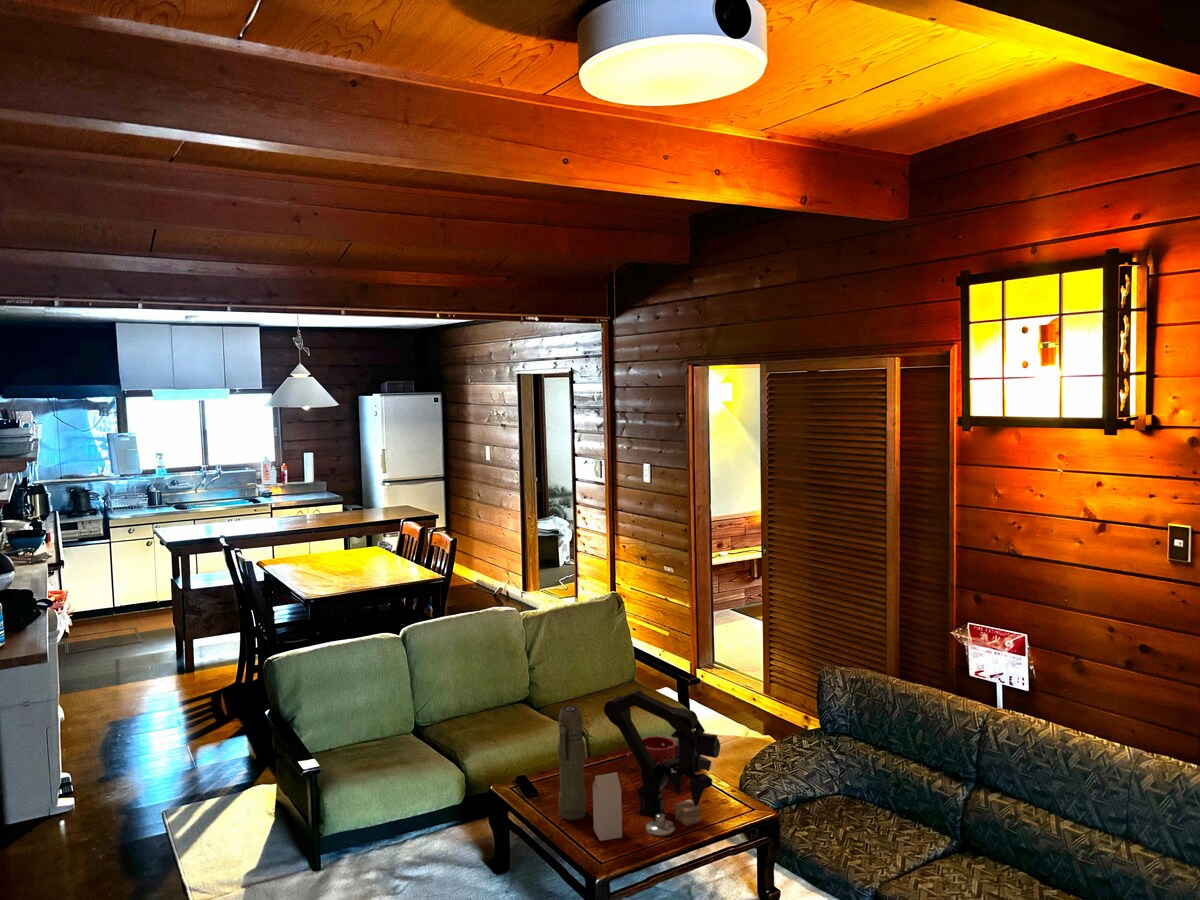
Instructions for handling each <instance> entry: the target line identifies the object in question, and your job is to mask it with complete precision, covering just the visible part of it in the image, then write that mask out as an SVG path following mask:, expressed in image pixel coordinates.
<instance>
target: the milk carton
mask: <svg viewBox="0 0 1200 900" xmlns="http://www.w3.org/2000/svg"><path fill="white" fill-rule="evenodd" d="M592 813H593V816H592V817H593V818H592V820H593V831H594V834H595V835H596V836H597V838H598V840H599V841H600V842H602V841H609V840H614V839H621V838H623V819H622V818H623V812H622V788H621V783H620V780H619V774H618V772H612V773H606V774H597V775H595V779H594V781H593V783H592Z"/></svg>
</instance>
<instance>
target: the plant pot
mask: <svg viewBox="0 0 1200 900" xmlns="http://www.w3.org/2000/svg"><path fill="white" fill-rule="evenodd" d="M641 739H642V741H643V743H644V744H645V746H646V748H647V750H648V752H649V754H650V755H651V757H652V759H653V760H654V761H655V762H656V763H660V762H662V764H663V763H664V762H665V761H667V760H671V759H674V758H675V754H677V743H676V741H675V740H674V739H672V738H669V737H665V736H659V735H658V736H657V735H656V736H646V737H644V738H641ZM657 746H659V747H657Z"/></svg>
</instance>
